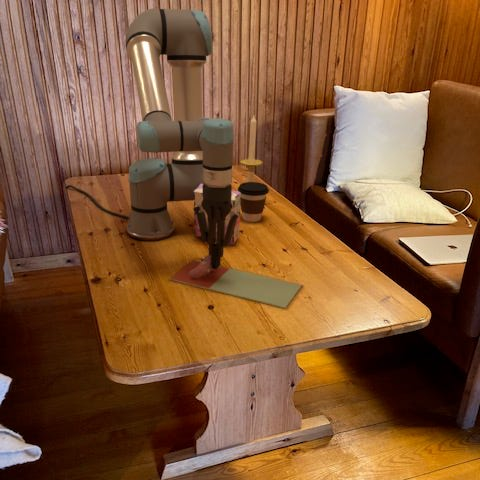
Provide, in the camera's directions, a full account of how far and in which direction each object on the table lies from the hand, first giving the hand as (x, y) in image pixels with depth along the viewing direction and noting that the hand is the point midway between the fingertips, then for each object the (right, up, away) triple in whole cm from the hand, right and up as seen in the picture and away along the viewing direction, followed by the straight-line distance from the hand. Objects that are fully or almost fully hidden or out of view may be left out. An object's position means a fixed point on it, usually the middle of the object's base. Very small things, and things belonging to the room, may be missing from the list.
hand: (215, 266), depth 148 cm
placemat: (+6, -5, 0) cm, 7 cm away
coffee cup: (+11, +21, +43) cm, 49 cm away
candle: (+10, +31, +59) cm, 67 cm away
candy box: (-1, +12, +25) cm, 28 cm away
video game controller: (-3, -2, +3) cm, 5 cm away
